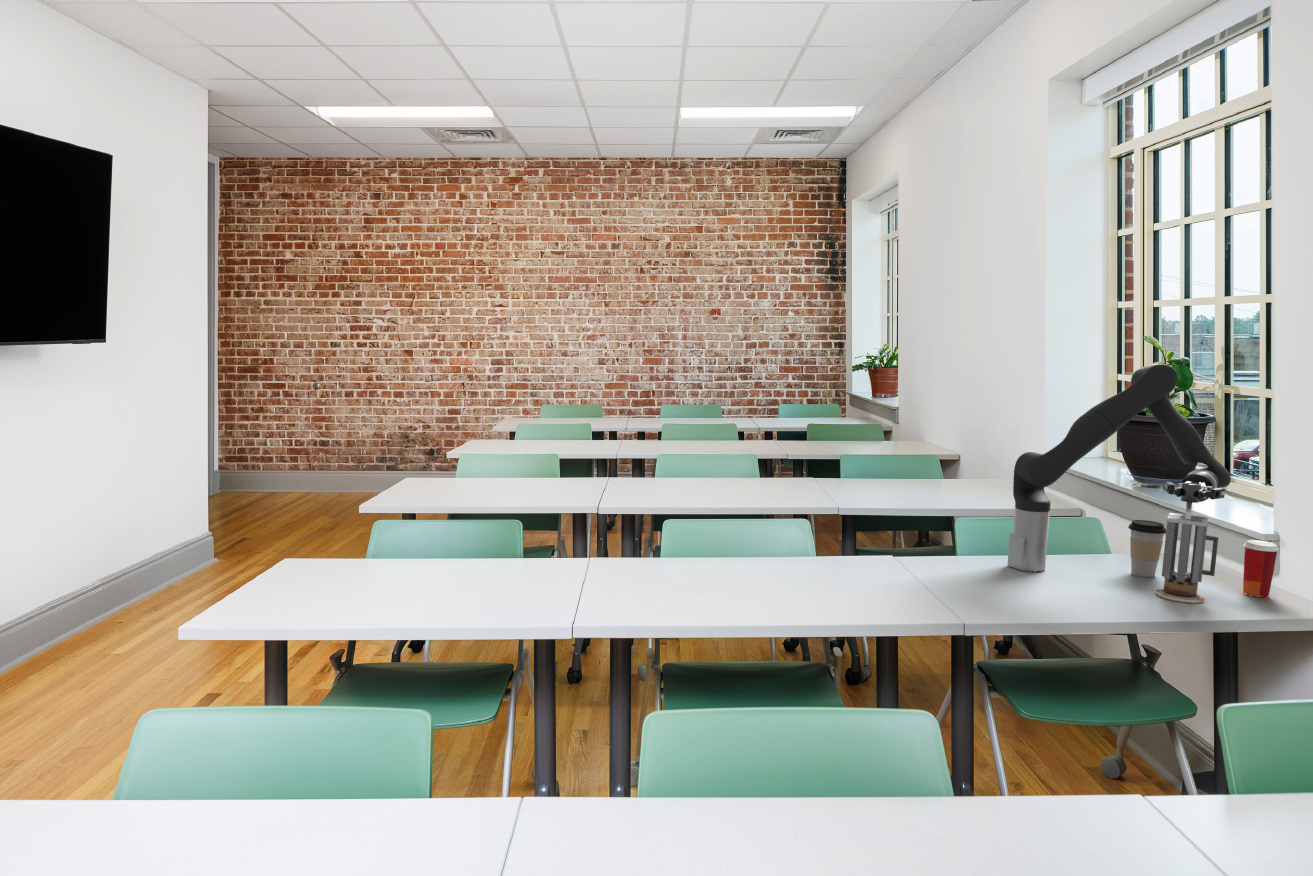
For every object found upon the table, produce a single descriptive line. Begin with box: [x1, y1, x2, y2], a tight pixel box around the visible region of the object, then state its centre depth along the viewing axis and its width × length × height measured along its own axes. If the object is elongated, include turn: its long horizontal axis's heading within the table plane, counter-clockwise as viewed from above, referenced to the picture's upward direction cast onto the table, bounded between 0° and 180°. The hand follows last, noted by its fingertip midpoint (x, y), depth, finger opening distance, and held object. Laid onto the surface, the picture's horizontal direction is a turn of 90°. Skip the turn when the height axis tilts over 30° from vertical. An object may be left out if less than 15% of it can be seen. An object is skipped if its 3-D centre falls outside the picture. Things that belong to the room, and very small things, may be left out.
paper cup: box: [1242, 539, 1280, 598], centre depth 230 cm, size 8×8×14 cm
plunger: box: [1172, 483, 1200, 579], centre depth 225 cm, size 6×6×24 cm
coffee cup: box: [1128, 519, 1167, 578], centre depth 247 cm, size 9×9×15 cm
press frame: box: [1154, 512, 1219, 605], centre depth 225 cm, size 12×11×21 cm
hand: (1188, 494), depth 221 cm, fingers closed on plunger, 4 cm apart
